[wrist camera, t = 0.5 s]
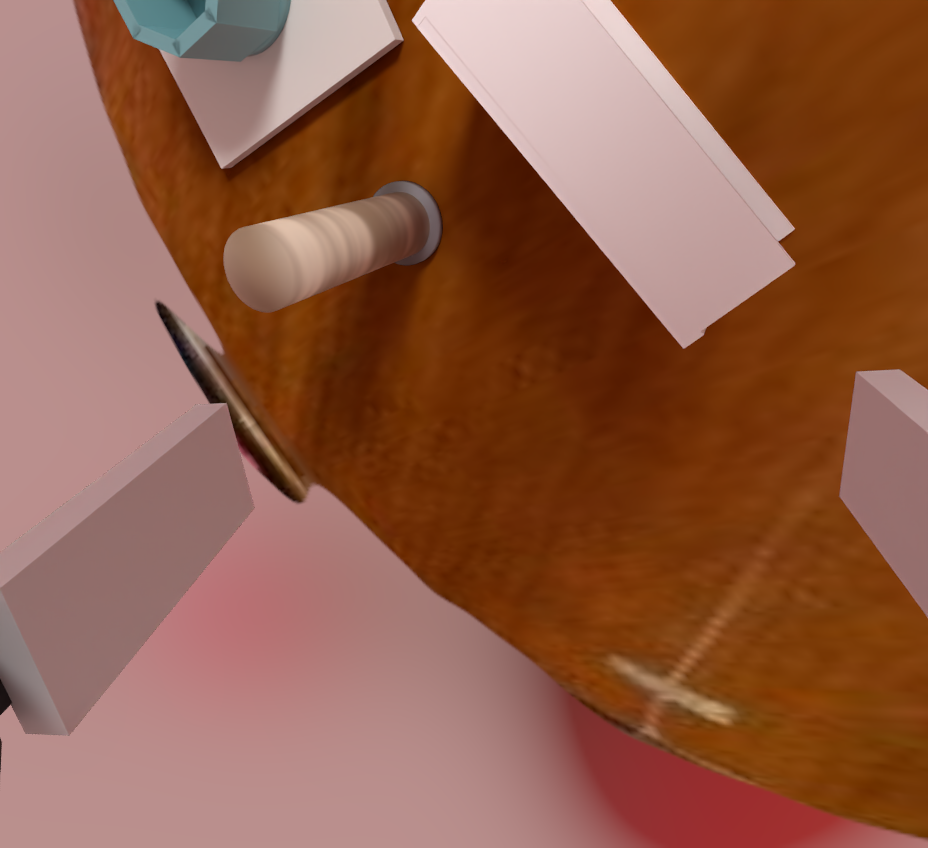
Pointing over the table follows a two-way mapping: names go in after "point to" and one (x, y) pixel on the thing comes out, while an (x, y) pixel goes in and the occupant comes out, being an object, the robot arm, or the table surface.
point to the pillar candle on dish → (331, 246)
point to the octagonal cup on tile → (259, 58)
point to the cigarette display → (619, 150)
